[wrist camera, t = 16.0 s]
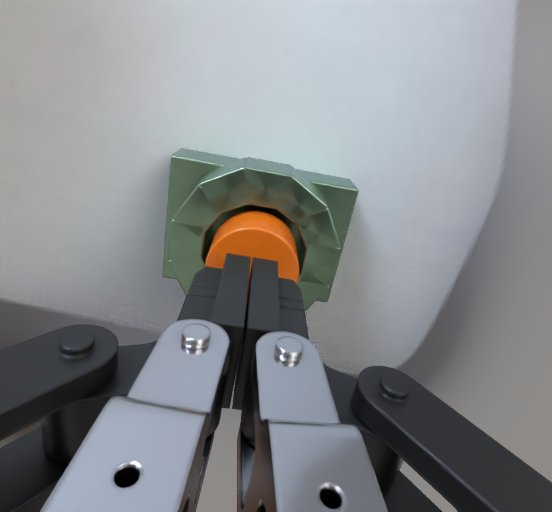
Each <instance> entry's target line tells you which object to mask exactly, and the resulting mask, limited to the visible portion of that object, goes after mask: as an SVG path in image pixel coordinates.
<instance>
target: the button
mask: <svg viewBox="0 0 552 512" xmlns="http://www.w3.org/2000/svg"><path fill="white" fill-rule="evenodd" d="M227 253H230V254H236V255H243V256H249V257H251V264H250V271H251V266H252V260H253V257H256V258H262V259H268V260H274V261H278V278H284V279H291V280H293V281H294V282H295V283H296V284H297V282H298V278H299V262H298V255H297V248H296V242H295V239H294V236H293V234H292V232H291V230H290V229H289V228H288V226H287V225H286V224H285V223H284V222H283V221H282V220H280V219H279V218H277V217H276V216H274V215H272V214H269V213H266V212H262V211H246V212H241V213H238V214H236V215H233V216H232V217H230V218H228V219H227V220H226V221H225V222H224V223H223V224H222V225H221V226H220V227H219V228H218V230H217V232H216V234H215V236H214V239H213V241H212V244H211V247H210V250H209V252H208V255H207V258H206V263H205V267H206V266H207V267H213V268H220V269H223V266H224V262H225V258H226V254H227ZM249 277H250V274H249Z"/></svg>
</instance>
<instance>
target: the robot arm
mask: <svg viewBox="0 0 552 512" xmlns="http://www.w3.org/2000/svg"><path fill="white" fill-rule="evenodd" d="M250 264H251V257H249V256H243V255H236V254H230V253H227V254H226V258H225V262H224V266H223V269H220V268H213V267H207V266H206V267H204V268H203V269H201V270H200V271H198V272H197V273H195V275H194V278H193V281H192V283H191V286H190V288H189V291H188V294H187V296H186V299H185V301H184V304H183V307H182V309H181V312H180V315H179V317H178V320H177V322H175V323H172V324H171V325H169V326H168V327H166V328H165V329H164V331H163V332H162V334H161V336H160V338H159V339H158V340H157V341H154V342H151V343H147V344H141V345H131V346H118V340H117V338H116V336H115V335H114V334H113V333H112V332H111V331H109V330H108V329H105V328H103V327H100V326H95V325H74V326H68V327H64V328H61V329H58V330H55V331H52V332H49V333H47V334H44V335H41V336H38V337H36V338H33V339H30V340H28V341H25V342H22V343H19V344H17V345H14V346H11V347H8V348H6V349H3V350H0V441H1V440H3V439H4V438H6V437H8V436H10V435H12V434H14V433H16V432H18V431H20V430H22V429H23V428H26V427H27V426H29V425H31V424H33V423H35V422H37V421H39V420H41V427H39V428H37V429H35V430H33V431H32V432H30V433H28V434H26V435H24V436H22V437H20V438H18V439H17V440H15V441H13V442H11V443H9V444H7V445H5V446H4V447H2V448H0V512H196V508H197V504H198V500H199V496H200V491H201V488H202V483H203V479H204V475H205V471H206V467H207V463H208V459H209V455H210V451H211V447H212V443H213V439H214V433H215V430H216V428H217V427H218V425H219V421H220V415H221V409H222V408H229V407H230V402H231V396H232V391H233V385H234V380H235V374H236V380H235V389H234V397H233V406H232V409H238V410H242V413H241V423H240V428H239V433H238V439H237V512H442V511H441V510H440V509H439V508H438V507H437V506H436V505H435V504H434V503H433V502H432V501H431V500H430V499H428V498H427V497H426V496H425V495H424V494H423V493H422V492H421V491H420V490H419V489H418V488H417V487H416V486H415V485H414V484H413V483H412V482H411V481H410V480H409V479H408V478H407V477H405V476H404V475H403V474H402V473H401V472H400V471H399V470H400V468H401V465H402V463H403V461H405V462H406V463H407V464H408V465H409V466H411V467H412V468H413V469H414V470H415V471H416V472H417V473H418V474H419V475H420V476H421V477H422V478H423V479H425V480H426V481H427V482H428V483H429V484H430V485H431V486H432V487H433V488H434V489H435V490H436V491H438V492H439V493H440V494H441V495H442V496H443V497H444V498H445V499H446V500H447V501H448V502H449V503H450V504H452V505H453V507H455V509H456V510H457V511H458V512H552V483H551V482H550V481H549V480H547V479H546V478H545V477H543V476H542V475H541V474H539V473H538V472H537V471H535V470H534V469H533V468H531V467H530V466H529V465H527V464H526V463H525V462H523V461H522V460H521V459H519V458H518V457H517V456H515V455H514V454H513V453H511V452H510V451H508V450H507V449H506V448H505V447H503V446H502V445H500V444H499V443H498V442H497V441H495V440H494V439H493V438H491V437H490V436H488V435H487V434H485V433H484V432H483V431H482V430H480V429H479V428H477V427H476V426H475V425H474V424H472V423H471V422H470V421H468V420H467V419H466V418H464V417H463V416H462V415H460V414H459V413H458V412H456V411H455V410H454V409H452V408H451V407H450V406H448V405H447V404H446V403H444V402H443V401H442V400H440V399H439V398H438V397H436V396H435V395H433V394H432V393H431V392H429V391H428V390H427V389H426V388H424V387H423V386H421V385H420V384H419V383H417V382H416V381H415V380H413V379H412V378H411V377H409V376H408V375H406V374H404V373H402V372H400V371H398V370H396V369H393V368H389V367H385V366H372V367H368V368H366V369H364V370H363V371H362V372H361V373H360V375H359V377H358V379H357V378H354V377H352V376H349V375H346V374H344V373H341V372H338V371H336V370H334V369H332V368H330V367H328V366H327V365H325V364H324V363H323V362H322V359H321V355H320V353H319V350H318V349H317V347H316V346H315V345H314V344H313V343H312V342H311V341H309V337H308V331H307V324H306V318H305V311H304V305H303V298H302V291H301V289H300V288H299V287H298V285H297V284H296V283H295V282H294V281H293V280H291V279H284V278H278V261H274V260H268V259H262V258H256V257H253V260H252V266H251V271H250ZM249 274H250V277H249ZM236 369H237V371H236Z"/></svg>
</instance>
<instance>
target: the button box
mask: <svg viewBox="0 0 552 512" xmlns="http://www.w3.org/2000/svg"><path fill="white" fill-rule="evenodd" d="M357 195H358V189H357V188H356V186H355V185H354V184H353V183H352V181H351V180H350V179H345V178H339V177H334V176H328V175H323V174H318V173H312V172H307V171H301V170H296V169H295V168H293V167H292V166H290V165H288V164H283V163H277V162H272V161H266V160H261V159H256V158H250V157H248V158H243V159H236V158H231V157H226V156H220V155H215V154H209V153H204V152H199V151H193V150H188V149H180V150H179V151H177V152H176V153H175V154H173V155H172V156H171V164H170V178H169V192H168V206H167V220H166V234H165V248H164V262H163V277H168V278H174V279H178V281H179V283H180V285H181V287H182V289H183V290H184V292H185V294H186V296H187V294H188V291H189V288H190V286H191V283H192V281H193V278H194V275H195V273H197V272H198V271H200V270H201V269H203V268H204V267H205V263H206V258H207V255H208V252H209V250H210V247H211V244H212V241H213V239H214V236H215V234H216V232H217V230H218V228H219V227H220V226H221V225H222V224H223V223H224V222H225V221H226V220H227V219H228V218H230V217H232V216H233V215H236V214H238V213H241V212H246V211H262V212H266V213H269V214H272V215H274V216H276V217H277V218H279V219H280V220H282V221H283V222H284V223H285V224H286V225H287V226H288V228H289V229H290V230H291V232H292V234H293V236H294V239H295V242H296V248H297V255H298V262H299V278H298V282H297V285H298V287H299V288H300V289H301V291H302V298H303V305H304V311H306V310H307V309H308V308H309V307H310V306H311V305H312V304H313V303H314V302H315V301H321V302H327V301H328V299H329V295H330V291H331V288H332V284H333V281H334V277H335V273H336V270H337V266H338V263H339V259H340V256H341V252H342V248H343V245H344V241H345V238H346V234H347V231H348V227H349V223H350V220H351V216H352V213H353V209H354V205H355V202H356V198H357Z"/></svg>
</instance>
